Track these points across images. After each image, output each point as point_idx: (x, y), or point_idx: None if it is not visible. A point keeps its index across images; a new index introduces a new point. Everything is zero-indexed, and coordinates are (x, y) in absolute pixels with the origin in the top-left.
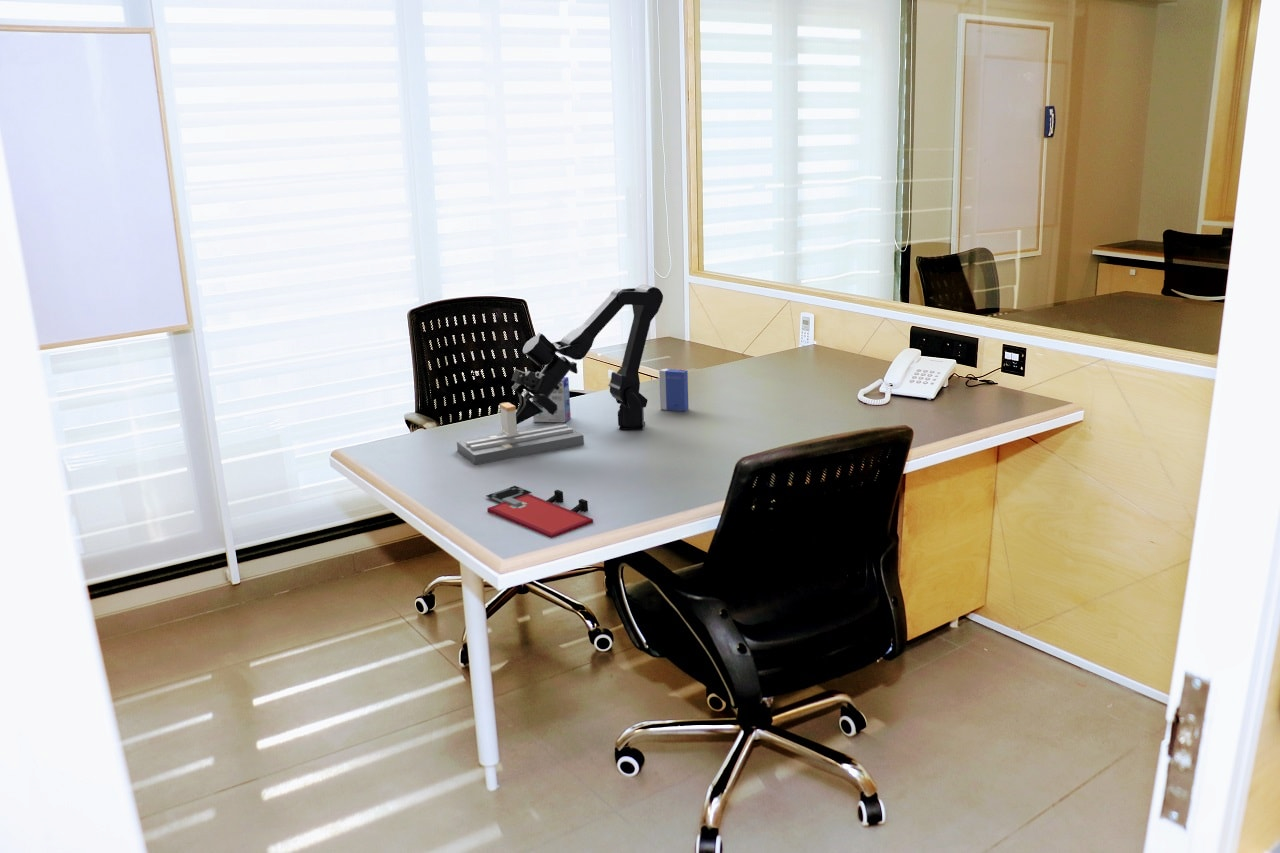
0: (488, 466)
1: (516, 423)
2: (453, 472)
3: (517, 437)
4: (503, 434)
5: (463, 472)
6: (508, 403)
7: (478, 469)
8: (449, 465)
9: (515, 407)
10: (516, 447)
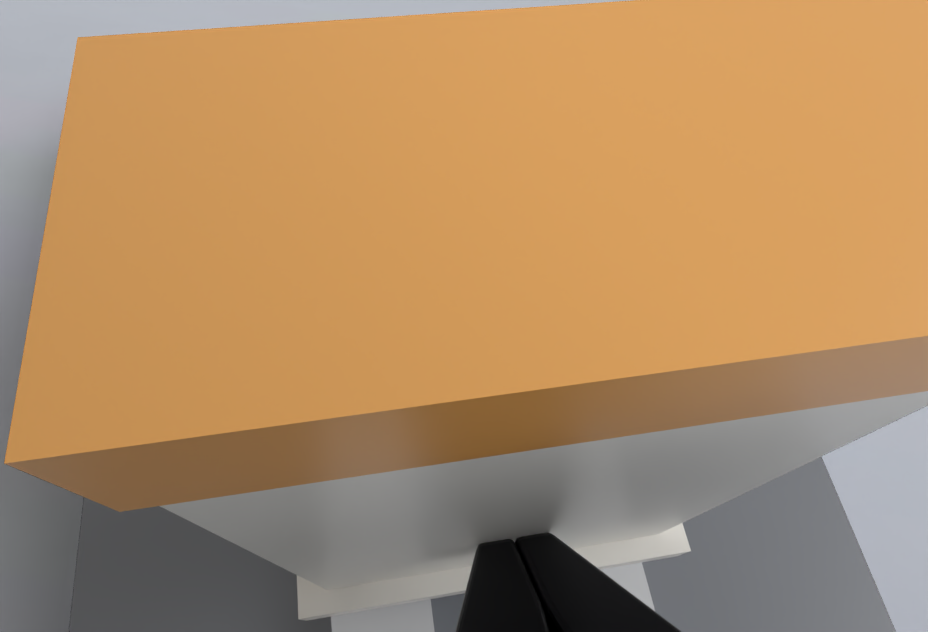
0: (44, 219)
1: (295, 572)
2: (96, 5)
3: (410, 611)
4: (776, 479)
5: (43, 51)
6: (887, 257)
7: (28, 142)
8: (275, 11)
9: (49, 474)
10: (82, 515)
